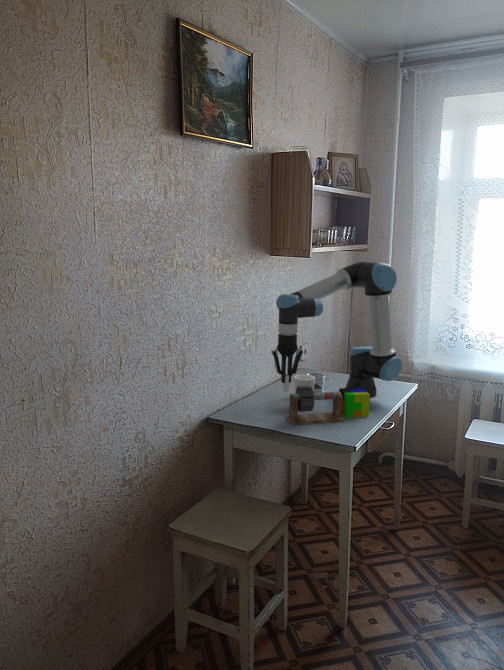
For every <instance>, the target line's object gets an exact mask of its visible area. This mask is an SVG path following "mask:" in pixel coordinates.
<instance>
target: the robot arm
mask: <svg viewBox="0 0 504 670" xmlns="http://www.w3.org/2000/svg"><path fill="white" fill-rule="evenodd" d="M397 281H398V277H397V273H396V271H395V268H394V267H393V266H392V265H390V264H389V263H384V262H374V261H373V262H371V261H358V262H355V263H352V264H349V265H347V266H345V267H343V268H341V269H338V270H337V271H336V273H335V274H333V275H330V276H327V277H326V278H323V279H321V280H319V281H317V282H315V283H313V284H310V285H307V286H305V287H304V288H301V289H299V290H296V291H294V292H292V293H290V294H287V293H286V294H285V293H283V294H280V295H278V297H277V298H276V301H275V302H276V307H277V309H278V330H277V331H278V333H279V334H278V335H277V346H276V348H275V349H273V350H271V354H272V356H273V359H274V364H275V368H276V373H277V374H279V375H281V377H280V378H281V379H280V381H281V384H283V387H282V388H283V389H282V390H283V391H284V392H290V391H289V388H290V384H292V377H293V374H294V375H295V374H296V373H297V371H298V367H299V363H300V359H301V356H302V355H303V353H304V351H303V350H302V349H300V348H299V346H298V343H297V342H298V321H299V320H298V319H303V318H314V317H319V316H321V314H322V313H323V311H324V303H323V301H322V299H325V298H327V297H329V296H331V295H333V294H336V293H338V292H339V291H341V290H349V289H352V288H362V289H364V296H366V297H367V298H368V305H369V318H370V319H369V320H370V330H371V332H370V333H371V343H372V345H371V346H370V345H369V346H368V345H364V346H355V347H352V348H351V349H350V355H349V376H348V379H347V382H346V385H345V387H344V388H362V389H364V390H365V391H366V392H368V393H369V394H370V398H374V397H375V396H377V392H378V391H377V386H376V383H375V379H374V378H376V379H379V380H381V381H386V382H393V381H394V380H395V379H397V378H398V376H399V375H400V374H401V372H402V369H403V362H402V359H401V358H399V357H398V356H397V351H396V349H395V348H394V347H393V344H392V341H393V340H392V325H391V314H390V313H391V312H390V298H389V297H390V296H391V294H392V293H393V289H395V287H396V284H397ZM295 353H296V354H295ZM279 354H280V356H281V363H280V360H279V356H278V355H279ZM294 354H295V357H294ZM293 357H294V361H293ZM280 364H281V365H280Z"/></svg>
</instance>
